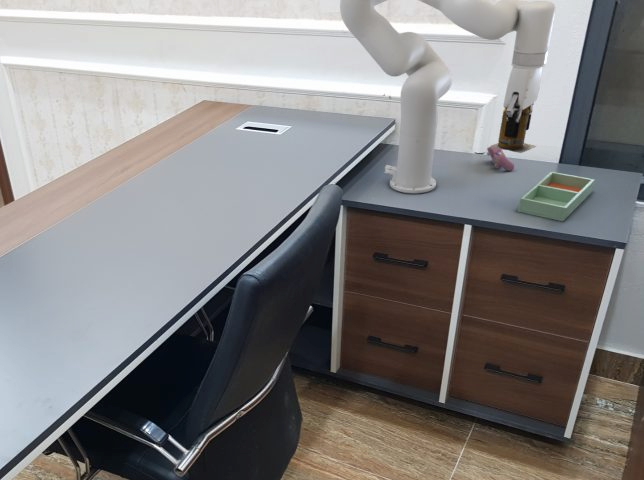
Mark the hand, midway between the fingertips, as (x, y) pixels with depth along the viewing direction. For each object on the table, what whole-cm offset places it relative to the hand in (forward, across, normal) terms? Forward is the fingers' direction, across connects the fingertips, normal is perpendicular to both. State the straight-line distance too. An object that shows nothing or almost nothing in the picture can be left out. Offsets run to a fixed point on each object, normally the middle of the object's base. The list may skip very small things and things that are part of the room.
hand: (516, 132), depth 181 cm
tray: (+19, -6, +11) cm, 22 cm away
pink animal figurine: (+19, -23, -11) cm, 32 cm away
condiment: (+4, 0, 0) cm, 4 cm away
